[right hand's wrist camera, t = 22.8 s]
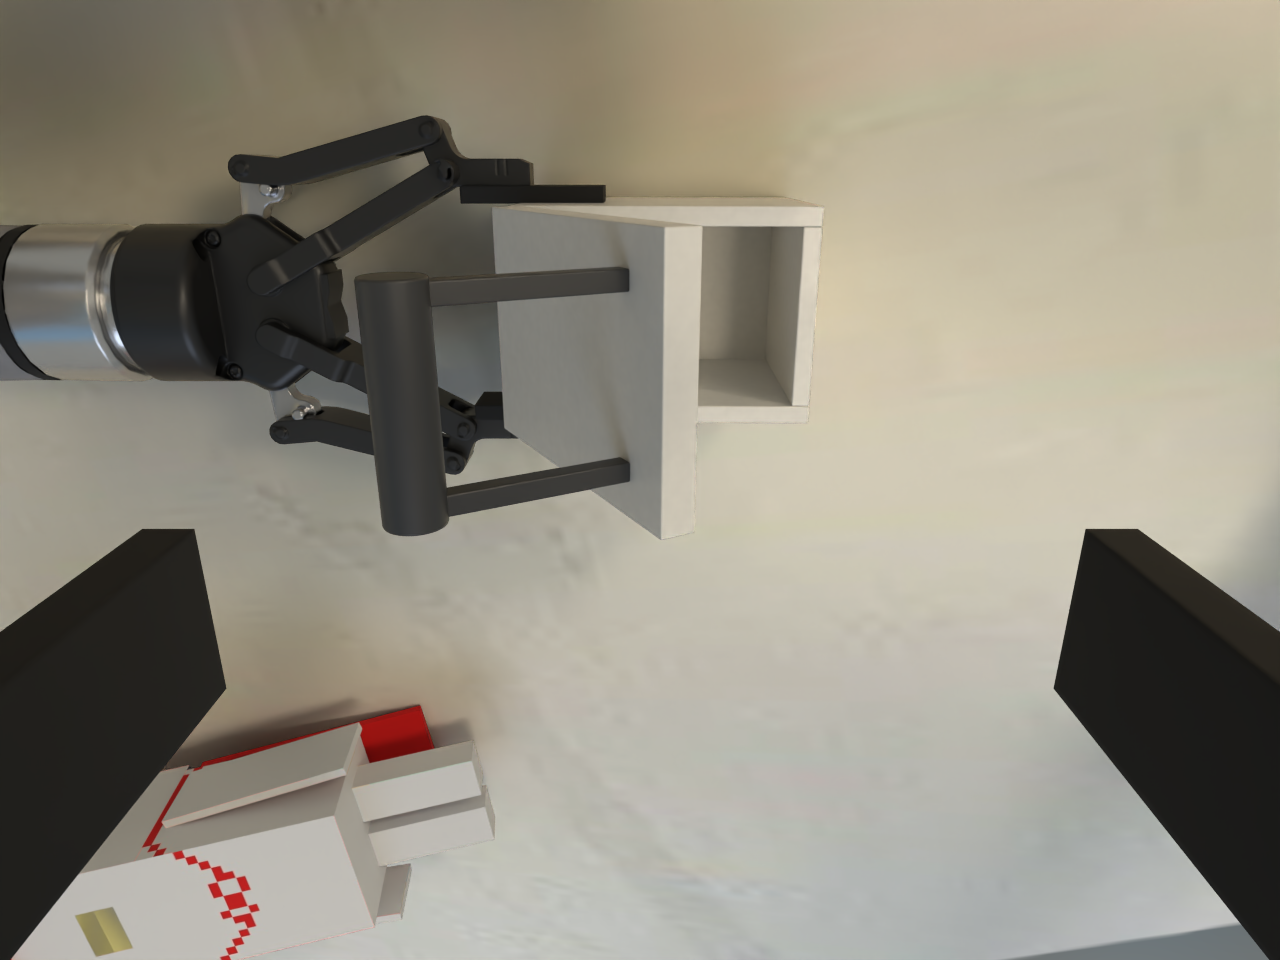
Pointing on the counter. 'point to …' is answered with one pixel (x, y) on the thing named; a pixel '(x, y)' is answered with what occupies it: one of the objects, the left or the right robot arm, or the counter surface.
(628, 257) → the lid
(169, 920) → the toy
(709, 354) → the chest
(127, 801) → the right robot arm
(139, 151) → the counter surface
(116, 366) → the left robot arm
